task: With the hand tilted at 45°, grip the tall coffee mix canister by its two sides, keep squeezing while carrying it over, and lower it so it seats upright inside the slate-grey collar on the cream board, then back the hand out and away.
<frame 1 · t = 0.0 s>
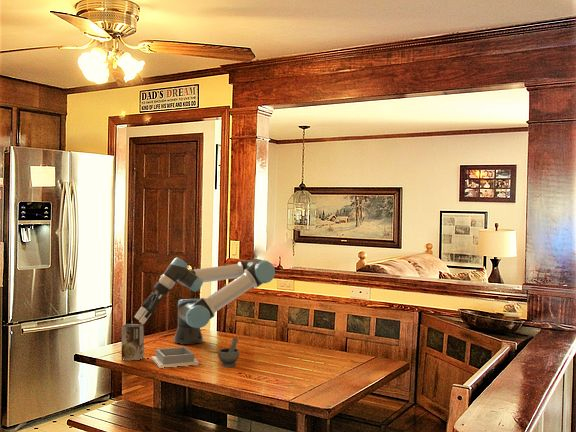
hand: (138, 320, 302), 15 cm above the table, tool tilted 35°, fingers open, 13 cm apart
collar tray: (174, 362, 282), on the table
mortar and pestle: (229, 365, 278), on the table
coffee box: (132, 359, 287), on the table
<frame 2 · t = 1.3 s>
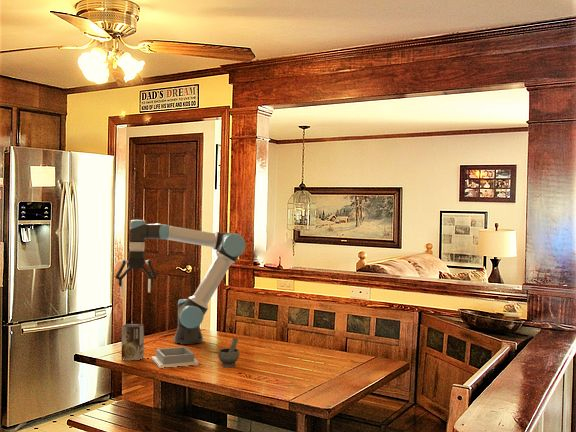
hand: (135, 292, 306), 29 cm above the table, tool pointing down, fingers open, 13 cm apart
nothing on the table moved.
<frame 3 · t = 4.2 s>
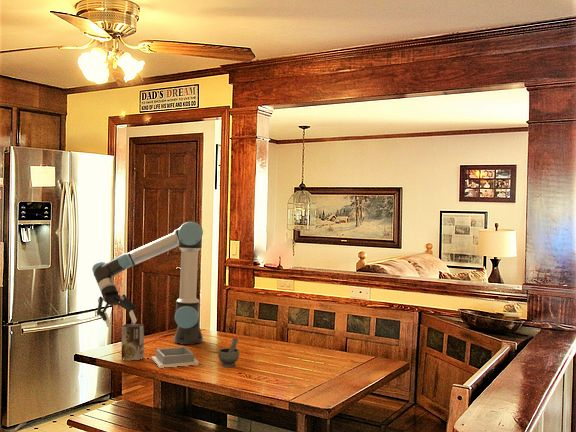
hand: (122, 323, 293), 15 cm above the table, tool tilted 45°, fingers open, 13 cm apart
nothing on the table moved.
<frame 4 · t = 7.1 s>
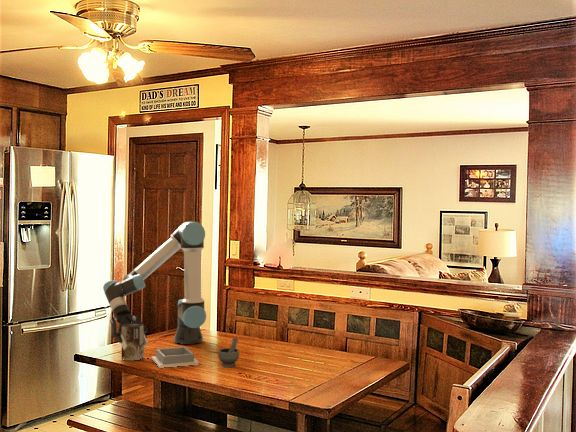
hand: (136, 346, 284), 7 cm above the table, tool tilted 45°, fingers closed on coffee box, 10 cm apart
coffee box: (132, 359, 287), on the table, touching gripper
everything else where it was.
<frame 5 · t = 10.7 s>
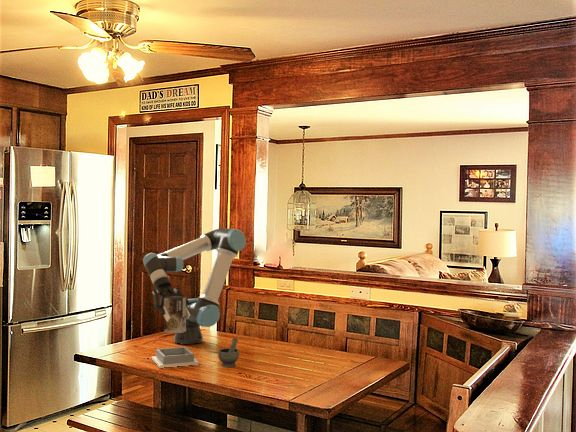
hand: (178, 318, 279), 21 cm above the table, tool tilted 45°, fingers closed on coffee box, 10 cm apart
coffee box: (174, 332, 282), point 14 cm above the table, touching gripper
everything else where it was.
when the fingers open (10 cm above the table, at t = 14.1 s): coffee box drops 2 cm, resting on collar tray.
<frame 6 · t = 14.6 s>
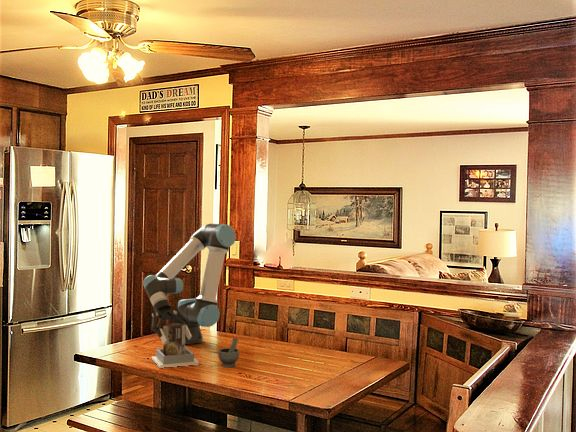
hand: (177, 340, 280), 11 cm above the table, tool tilted 45°, fingers open, 13 cm apart
coffee box: (174, 359, 282), point 1 cm above the table, touching collar tray
everything else where it was.
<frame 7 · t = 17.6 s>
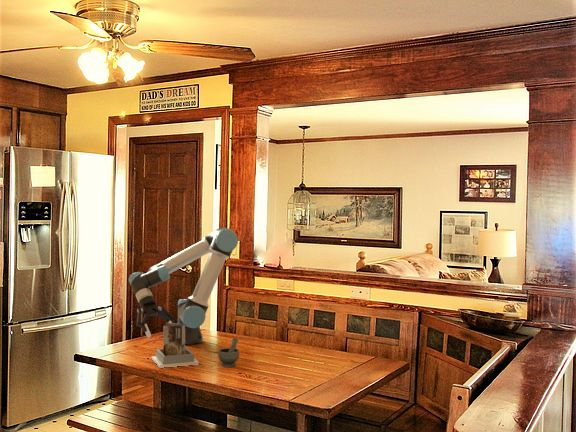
hand: (162, 335, 290), 11 cm above the table, tool tilted 45°, fingers open, 13 cm apart
nothing on the table moved.
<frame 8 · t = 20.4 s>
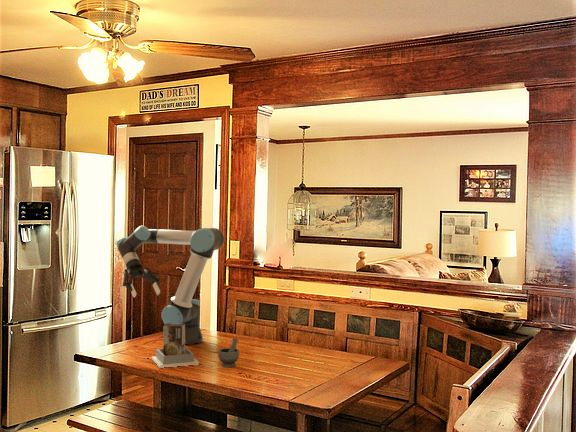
hand: (147, 294, 307), 28 cm above the table, tool tilted 45°, fingers open, 13 cm apart
nothing on the table moved.
at the end: coffee box 0.2 cm off-centre on the collar tray, point 1.3 cm above the collar tray's base; coffee box tilted 0°; the gripper is holding nothing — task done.
